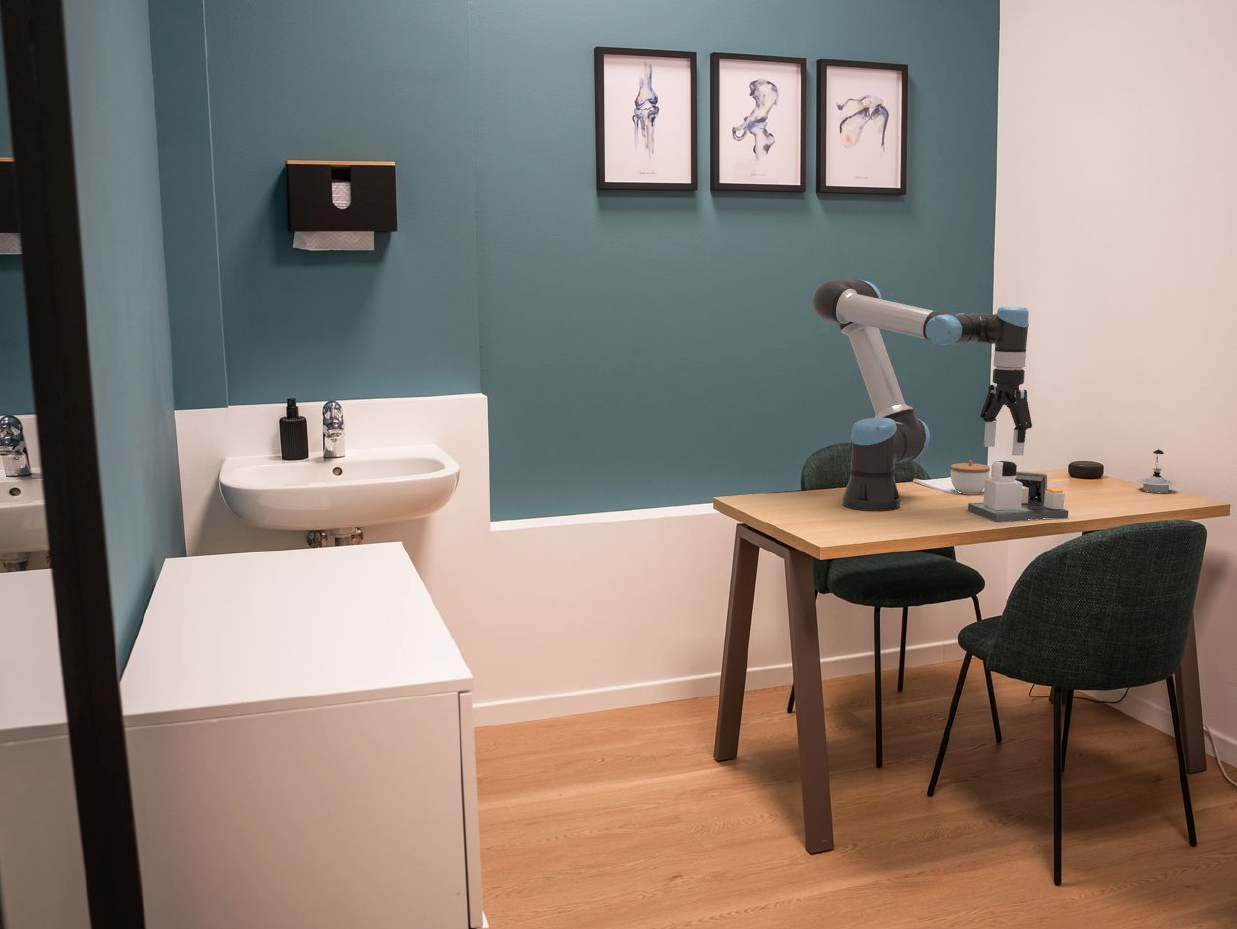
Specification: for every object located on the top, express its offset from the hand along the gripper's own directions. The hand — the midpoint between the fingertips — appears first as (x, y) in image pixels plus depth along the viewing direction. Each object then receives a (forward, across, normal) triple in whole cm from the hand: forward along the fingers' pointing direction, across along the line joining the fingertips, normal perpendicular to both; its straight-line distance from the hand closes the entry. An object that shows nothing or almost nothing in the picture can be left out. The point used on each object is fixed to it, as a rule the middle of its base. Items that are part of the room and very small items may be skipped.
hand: (1003, 450), depth 267 cm
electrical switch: (+17, +10, -15) cm, 25 cm away
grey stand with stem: (+17, +19, -61) cm, 66 cm away
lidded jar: (+18, +29, -8) cm, 35 cm away
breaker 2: (+14, -5, -13) cm, 20 cm away
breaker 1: (+14, +4, -8) cm, 17 cm away
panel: (+17, -1, -5) cm, 18 cm away
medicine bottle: (+15, -1, 0) cm, 15 cm away
